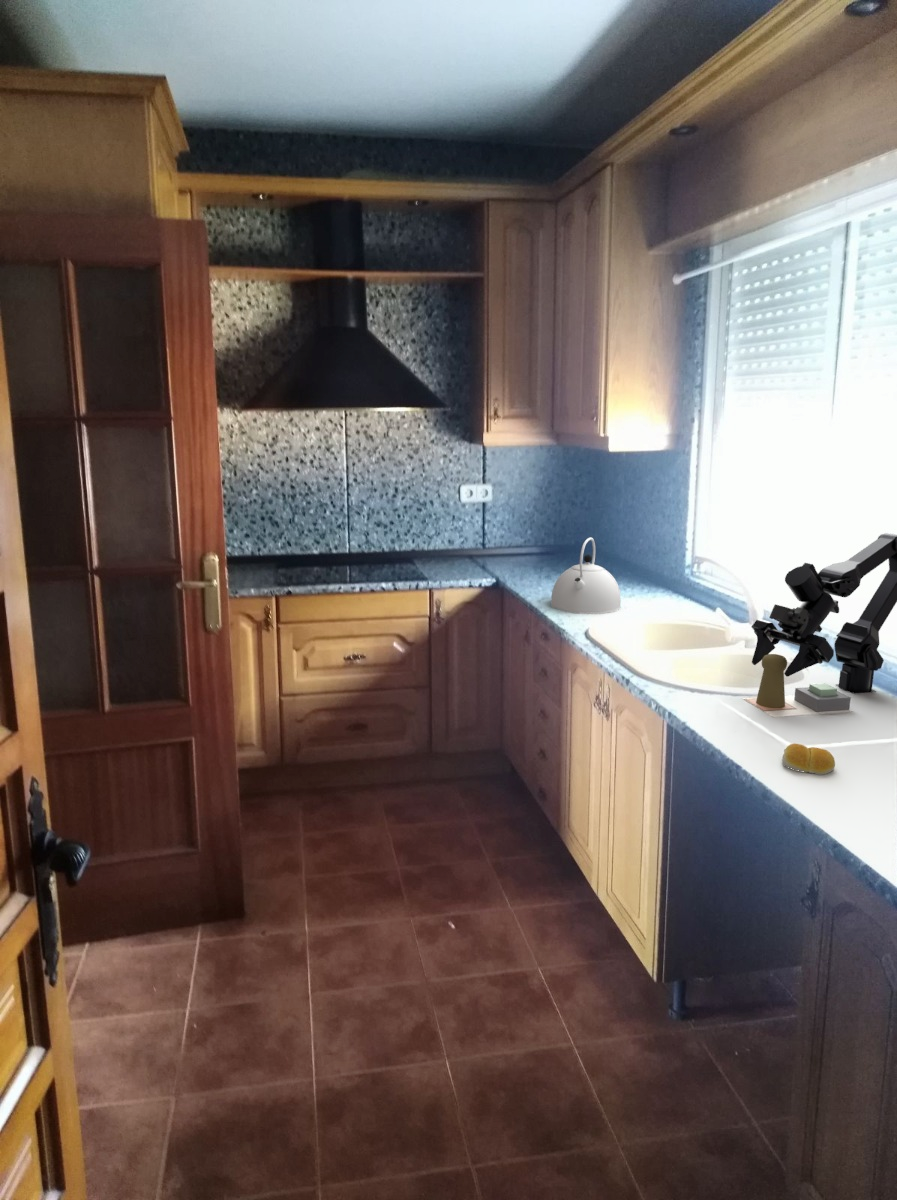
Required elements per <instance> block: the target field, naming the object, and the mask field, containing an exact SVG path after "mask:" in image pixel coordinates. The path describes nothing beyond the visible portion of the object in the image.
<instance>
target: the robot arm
mask: <svg viewBox="0 0 897 1200" xmlns="http://www.w3.org/2000/svg"><path fill="white" fill-rule="evenodd" d="M887 560H888V567H889V568H888V571H887V573H886V574H885V576H884V577H883V580H882V581H881V582H880V584H879V586H878V587H877V589H876V591H874V594H873V596H872V597H871V599H870V600H869V601H868V603H867V605H866V607H865V608H864V610H863V612H862V613H861V615H860V616H859V618H858V620H857V621H854V622H852V623H851V622H847V621H846V622H845V623H844V624H843V625H842V627H841V630H840V631H839V632H838V633H837V634H836V638H835V640H834V645H833V646H834V649H833V647H832V645H830V643H829V641H828V640H827V639H826V637H824V636H821V635H818V634H817V635H816V634H815V633H816V632H817V633H821V632H822V630H823V628H822V627H821V625H822V624H823V622H824V621H825V620H826V619H827V617H828V616H829V614H830V613H834V614H839V613H840V606H839V600H837V599H836V600H835V599H834V598H833V597H832V596H837V597H840V598H849V597H850V596H851V595H852V594H853V593H854V592H855V591H856V590H857V589H858V588H859V587H860V585H861V580H862V579H863V578H864V577H865V576H866V575H868V574H869V573H871V572H872V571H873V570H875V569H876V568H877V567H879V566H880V565H882V564H883V563H884V562H885V561H886V562H887ZM784 582H785V584H786V585H787V586H788V588H789V589H790V591H791V592H792V594H793V595H794V597H795V598H796V600H797V601H799V602H801V605H800V606H797V607H796V608H795V607H793V608H790V607H788V606H783V605H780V604H779V605H778V604H773V608H772V610H771V611H770V614H769V619H771V620H774V621H776V622H778V623H777V625H778V627H779V628H781V630H778V628H777V627H776V626H775V624H774V623H773V622H771V621H769V620H765V619H762V618H760V619H756V620H755V622H754V623H753V624H752V625H751V628H752V630H753V632H754V634H755V635H756V638H757V639H756V645H755V649H754V653H753V656H752V660H751V664H752V665H754V666H756V665H758V664H759V663H760V662H762V659H763V657H764V656H765V655H767V654H771V652H773V651H774V650H775V649H776V646H775V645H777V644H779V642H781V641H782V642H785V643H789V644H791V645H795V646H798V648H799V649H798V653H796V655H795V657H794V658H793V660H792V661H791V662H790V664H789V665H787V667H786V669H785V670H784V676H786V677H790V676H792V675H795V674H796V673H798V672H800V671H803V670H805V669H807V668H809V667H812V666H815V665H818V664H820V665H821V664H823V662H824V663H829V662H830V661H831V660H832V658H833V657H834V653H835V657H836V661H837V662H838V663H841V666H842V667H841V670H840V671H839V680H838V683H837V684H835V687H838V688H839V689H841V690H844V691H847V692H849V693H851V694H865V693H876V692H877V691H876V690H875V689H873V684H874V673H875V672H876V671H878V670H881V669H882V666H883V664H884V658H883V656H882V655H881V654H880V652H879V651H878V648H879V647H880V634H879V633H880V630H881V628H882V627H883V625H884V623H885V622H886V621H887V619H888V617H889V615H890V614H891V612H892V610H893V609H894V608H895V605H896V604H897V534H894V533H888V532H885V533H881V534H880V535H878V537H877V539H876V540H874V541H873V542H871V543H870V544H868V545H867V546H866V547H864V548H863V549H861V550H860V551H858V552H857V553H856V554H854V555H853V556H851V557H849V559H846V560H845V561H842V562H838V563H832V564H830V565H828V566H826V567H824V568H822V569H820V571H819V572H817V570H816V567H815V565H814V564H813V563H810V562H804V563H803V564H802V565H801V566H796V567H794V568H793V569H792V570H790V571H788V572H787V573H786V575H785V577H784Z"/></svg>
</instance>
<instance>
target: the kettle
mask: <svg viewBox="0 0 897 1200" xmlns="http://www.w3.org/2000/svg"><path fill="white" fill-rule="evenodd" d="M589 541H591V544H592V555H590V554H586V555H584V552H585V548H586V545H587V544H588V542H589ZM579 555H580V556H579V563H578V564H575V565H572V566H570V568H567V569H566V570H564V571H563V573H561V574H560V575H559V577H557V579H556V580H555V583H554V585H553V587H552V591H551V601H550V606H551V607H552V608H553V609H557V610H559V611H563V612H566V613H567V612H568V613H575V614H587V615H589V614H590V615H593V614H594V615H597V614H599V615H601V614H611V613H615V612H618V611H620V610H621V609H620V608H622V607H621V604H622V603H621V602H622V599H621V598H622V597H621V596H622V595H621V590H620V586H619V584H618V582H617V580H616V579H615V577H614V576H613V575H612V574H611V573H610V572H609V570H606V568H604V567H602V566H600V565H597V564H595V561H596V560H595V559H596V543H595V540H594V538H593V537H588V538H586V540H585V541H584V542H583V544H582V546H581V549H580V554H579ZM583 560H584V563H583ZM590 562H591V563H590ZM619 609H620V610H619ZM617 610H618V611H617Z"/></svg>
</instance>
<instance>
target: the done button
mask: <svg viewBox="0 0 897 1200" xmlns="http://www.w3.org/2000/svg"><path fill="white" fill-rule="evenodd" d="M808 687H809V692H811V693H813V694H815V695H817V696H819V697H825V696H837V691H838V688H836V687H834V686H832V685H830V684H828V683H826V682H825V683H810V684H809V686H808Z"/></svg>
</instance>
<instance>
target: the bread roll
mask: <svg viewBox="0 0 897 1200" xmlns="http://www.w3.org/2000/svg"><path fill="white" fill-rule="evenodd" d="M781 762H782V763H783V764H782V763H781V764H782V765H783V766H784V765H785V766H787V767H789V768H788V769H790V768H792V769H794V770H793V771H795V770H799V771H804V772H803V773H810V772H811V773H816V774H815V775H818V774H822V775H826V774H828V773H830V772H832V771H834V769H835V767H836V761H835V757H834V756H833V754H832V753H831V752H830V751H829V750H827V749H824V748H820V747H814V746H812V747H807V746H805V745H804V744H800V743H790V744H789V745H788V746H786V748H784V750H783V755H782V759H781ZM785 766H784V767H785ZM787 767H786V768H787ZM792 769H791V770H792ZM799 771H798V772H799ZM811 773H810V774H811ZM825 773H826V774H825Z"/></svg>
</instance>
